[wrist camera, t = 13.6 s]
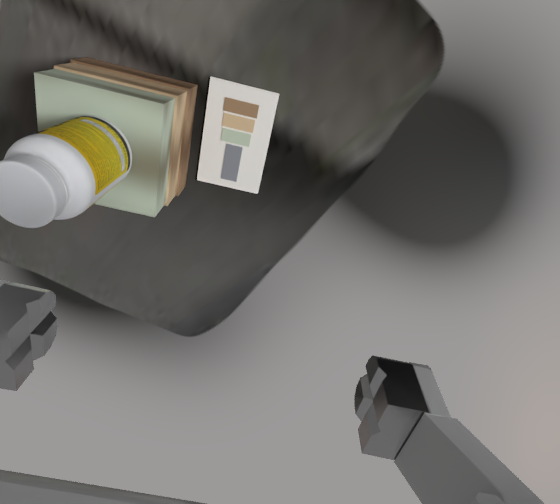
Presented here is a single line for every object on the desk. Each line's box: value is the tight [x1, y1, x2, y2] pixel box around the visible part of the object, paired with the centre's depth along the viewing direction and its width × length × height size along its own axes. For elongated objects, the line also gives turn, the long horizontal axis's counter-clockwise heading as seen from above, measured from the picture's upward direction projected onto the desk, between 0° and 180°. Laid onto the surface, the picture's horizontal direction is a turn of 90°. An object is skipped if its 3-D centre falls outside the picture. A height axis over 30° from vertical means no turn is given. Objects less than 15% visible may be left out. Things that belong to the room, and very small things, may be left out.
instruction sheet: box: [197, 76, 279, 194], centre depth 38 cm, size 10×6×1 cm, turn 167°
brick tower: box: [34, 57, 197, 217], centre depth 34 cm, size 10×10×9 cm
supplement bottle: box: [0, 115, 132, 228], centre depth 26 cm, size 5×5×10 cm
